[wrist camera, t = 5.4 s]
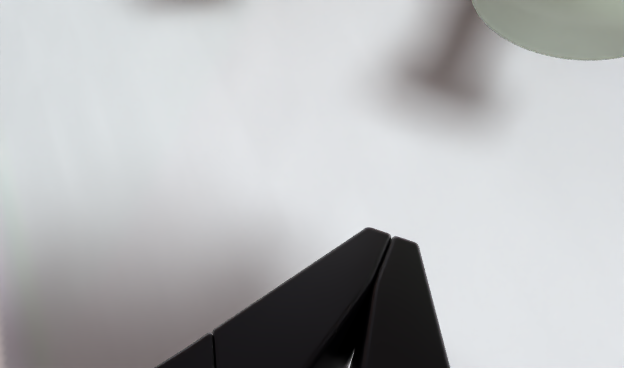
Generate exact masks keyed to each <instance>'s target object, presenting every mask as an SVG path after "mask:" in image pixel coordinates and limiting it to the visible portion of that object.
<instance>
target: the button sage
mask: <svg viewBox="0 0 624 368" xmlns="http://www.w3.org/2000/svg"><path fill="white" fill-rule="evenodd" d="M472 3H473V6H474V8H475V10H476V12H477V14H478V15H479V17H480V18H481V19H482V20H483V21H484V23H485V24H486V25H487V26H488V27H489V28H491V29H492V30H493V31H494V32H496V33H497V34H498V35H500V36H501V37H503V38H504V39H506V40H508V41H509V42H511V43H513V44H515V45H517V46H520V47H522V48H525V49H527V50H530V51H533V52H536V53H539V54H543V55H547V56H551V57H556V58H562V59H570V60H607V59H614V58H620V57H624V0H472Z"/></svg>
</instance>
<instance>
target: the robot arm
mask: <svg viewBox="0 0 624 368" xmlns="http://www.w3.org/2000/svg"><path fill="white" fill-rule="evenodd" d="M353 353H354V354H353ZM352 356H353V358H352ZM351 358H352V361H351ZM350 361H351V365H350V368H450V365H449V362H448V358H447V354H446V350H445V346H444V342H443V338H442V334H441V331H440V327H439V323H438V319H437V315H436V311H435V307H434V304H433V300H432V296H431V292H430V288H429V284H428V280H427V276H426V273H425V269H424V265H423V261H422V257H421V253H420V249H419V246H418V244H417V243H415V242H413V241H410V240H407V239H404V238H401V237H398V236H395V237H393V238H392V239H391V235H390V234H388V233H386V232H383V231H380V230H377V229H374V228H370V227H368V228H365V229H364V230H362V231H361V232H359V233H358V234H356V235H355V236H353V237H352V238H350V239H349V240H347V241H346V242H344V243H343V244H341V245H340V246H338V247H337V248H335V249H334V250H332V251H331V252H329V253H328V254H326V255H325V256H323V257H322V258H320V259H319V260H317V261H316V262H314V263H313V264H311V265H310V266H308V267H307V268H305V269H304V270H302V271H301V272H299V273H298V274H296V275H295V276H293V277H292V278H290V279H289V280H287V281H286V282H284V283H283V284H281V285H280V286H278V287H277V288H275V289H274V290H272V291H271V292H269V293H268V294H266V295H265V296H263V297H262V298H260V299H259V300H257V301H256V302H254V303H253V304H251V305H250V306H248V307H247V308H245V309H244V310H242V311H241V312H239V313H238V314H236V315H235V316H233V317H232V318H230V319H229V320H228V321H226V322H225V323H223V324H222V325H220V326H219V327H217V328H216V329H214V330H213V335H212V334H211V333H208V334H206V335H205V336H203V337H202V338H200V339H199V340H197V341H196V342H194V343H193V344H191V345H190V346H188V347H187V348H185V349H184V350H182V351H180V352H179V353H177V354H176V355H174V356H172V357H171V358H169V359H168V360H166V361H165V362H163V363H161V364H160V365H158V366H157V367H155V368H348V366H349V364H350Z"/></svg>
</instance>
